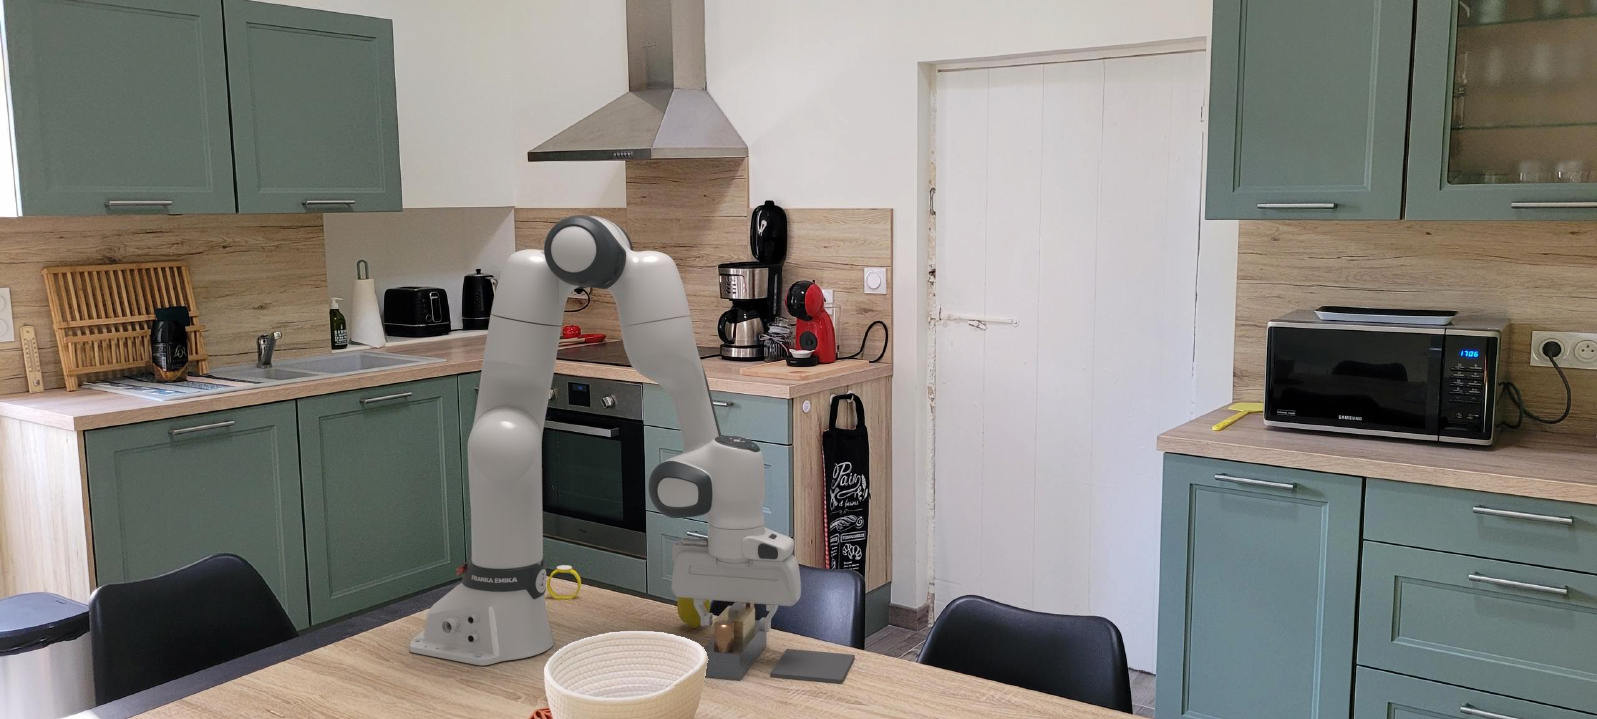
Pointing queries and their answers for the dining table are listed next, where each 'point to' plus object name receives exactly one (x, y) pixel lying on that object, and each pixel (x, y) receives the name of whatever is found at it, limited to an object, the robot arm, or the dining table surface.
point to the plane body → (732, 651)
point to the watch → (563, 570)
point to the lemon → (690, 611)
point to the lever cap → (740, 620)
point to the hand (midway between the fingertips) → (735, 627)
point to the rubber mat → (813, 666)
